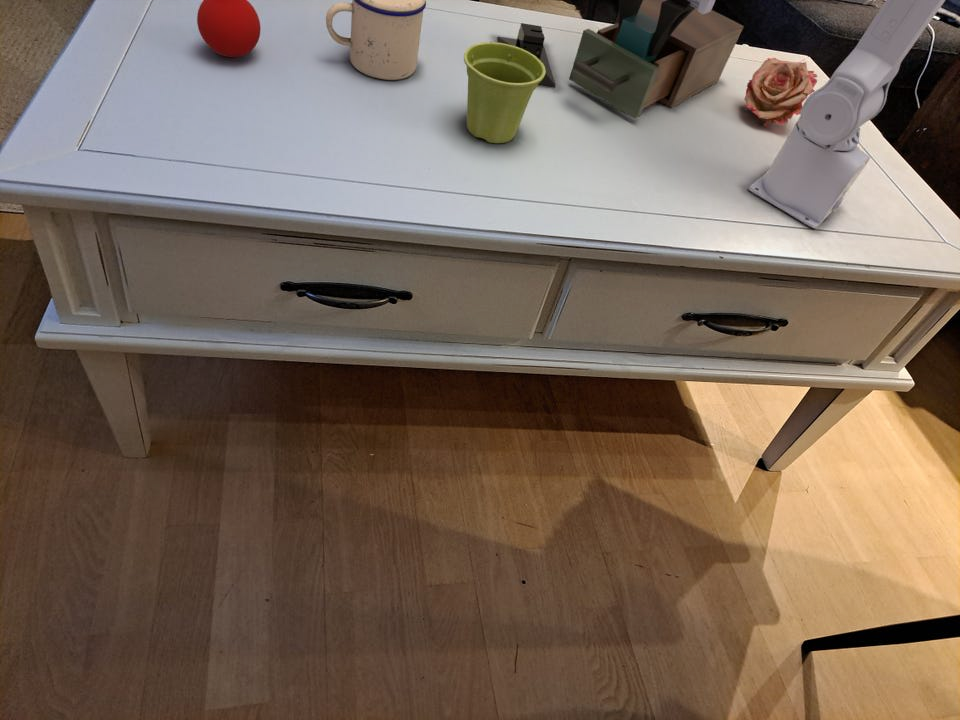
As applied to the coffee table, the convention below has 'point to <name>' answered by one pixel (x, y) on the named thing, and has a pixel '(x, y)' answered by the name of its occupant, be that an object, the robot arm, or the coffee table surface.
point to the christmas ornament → (229, 26)
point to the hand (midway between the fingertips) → (637, 45)
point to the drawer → (625, 71)
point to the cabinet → (697, 49)
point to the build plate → (532, 48)
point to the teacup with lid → (382, 36)
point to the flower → (779, 90)
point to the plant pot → (499, 88)
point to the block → (637, 35)
